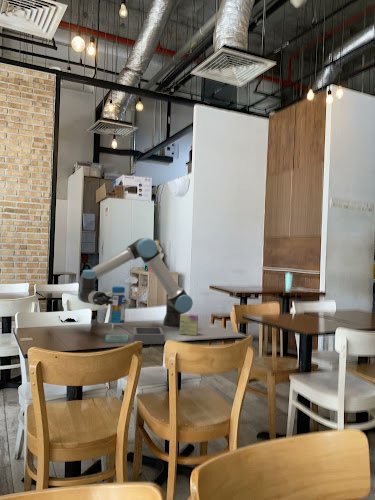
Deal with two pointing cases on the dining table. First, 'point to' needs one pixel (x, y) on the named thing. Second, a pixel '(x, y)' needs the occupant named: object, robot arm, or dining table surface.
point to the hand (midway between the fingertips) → (123, 302)
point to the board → (116, 338)
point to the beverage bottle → (118, 311)
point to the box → (189, 324)
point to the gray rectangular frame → (148, 335)
